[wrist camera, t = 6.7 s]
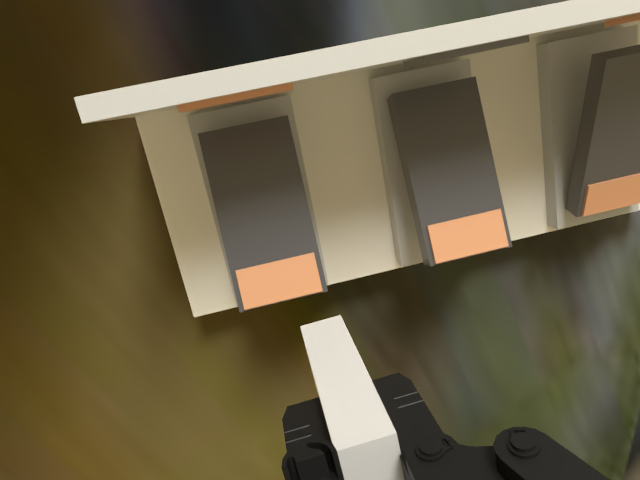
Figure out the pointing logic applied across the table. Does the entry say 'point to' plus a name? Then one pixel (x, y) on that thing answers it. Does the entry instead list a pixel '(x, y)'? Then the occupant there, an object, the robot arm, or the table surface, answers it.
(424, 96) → the switch
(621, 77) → the switch
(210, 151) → the switch
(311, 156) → the switch unit
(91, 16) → the table surface
